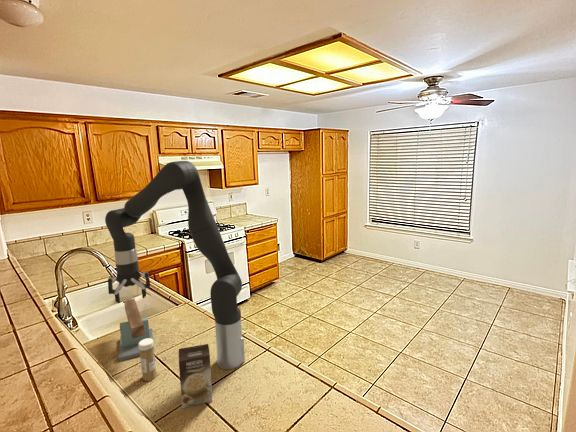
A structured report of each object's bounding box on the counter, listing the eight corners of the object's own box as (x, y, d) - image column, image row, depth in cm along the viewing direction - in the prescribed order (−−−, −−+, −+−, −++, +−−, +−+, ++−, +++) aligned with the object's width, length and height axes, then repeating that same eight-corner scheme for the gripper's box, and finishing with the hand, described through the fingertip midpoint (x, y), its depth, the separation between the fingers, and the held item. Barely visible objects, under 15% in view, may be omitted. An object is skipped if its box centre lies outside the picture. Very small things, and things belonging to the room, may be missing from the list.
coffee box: (181, 409, 89) (177, 361, 86) (181, 394, 95) (177, 348, 92) (213, 401, 92) (209, 354, 89) (211, 386, 98) (208, 342, 95)
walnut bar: (135, 306, 130) (134, 298, 129) (144, 335, 109) (143, 325, 108) (125, 309, 128) (124, 300, 127) (132, 338, 107) (131, 328, 106)
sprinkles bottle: (158, 378, 102) (154, 342, 99) (143, 383, 99) (139, 347, 97) (155, 370, 106) (151, 336, 103) (141, 375, 103) (137, 340, 101)
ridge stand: (152, 331, 130) (149, 309, 128) (154, 352, 116) (151, 327, 114) (121, 338, 125) (118, 315, 123) (118, 361, 110) (115, 335, 108)
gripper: (103, 266, 107) (109, 308, 110) (147, 260, 113) (151, 299, 116) (105, 260, 114) (111, 300, 117) (146, 254, 120) (151, 292, 123)
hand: (131, 299), depth 116 cm, fingers open, 8 cm apart
